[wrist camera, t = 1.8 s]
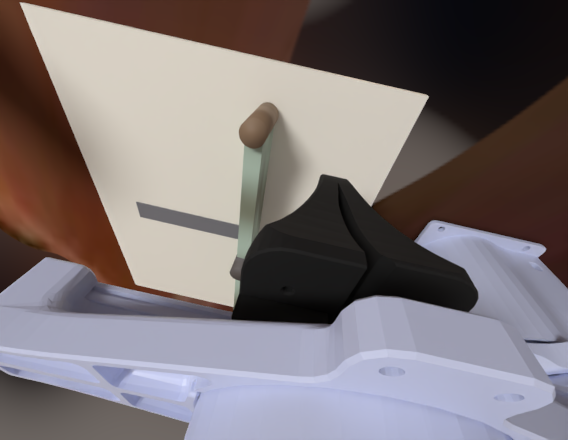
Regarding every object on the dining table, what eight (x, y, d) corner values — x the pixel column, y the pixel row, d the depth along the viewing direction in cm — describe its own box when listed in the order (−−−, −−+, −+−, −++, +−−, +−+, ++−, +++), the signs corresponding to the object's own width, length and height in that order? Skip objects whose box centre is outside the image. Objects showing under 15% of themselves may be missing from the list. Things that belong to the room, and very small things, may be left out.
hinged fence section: (261, 231, 21) (250, 265, 18) (246, 228, 21) (232, 261, 18) (280, 104, 14) (267, 123, 11) (258, 99, 14) (239, 117, 11)
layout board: (425, 94, 13) (429, 96, 13) (309, 320, 31) (309, 325, 31) (28, 3, 13) (18, 2, 13) (138, 281, 31) (135, 285, 31)
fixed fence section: (246, 227, 21) (229, 266, 18) (262, 231, 21) (249, 270, 18) (239, 299, 29) (227, 336, 26) (251, 302, 29) (241, 339, 26)
